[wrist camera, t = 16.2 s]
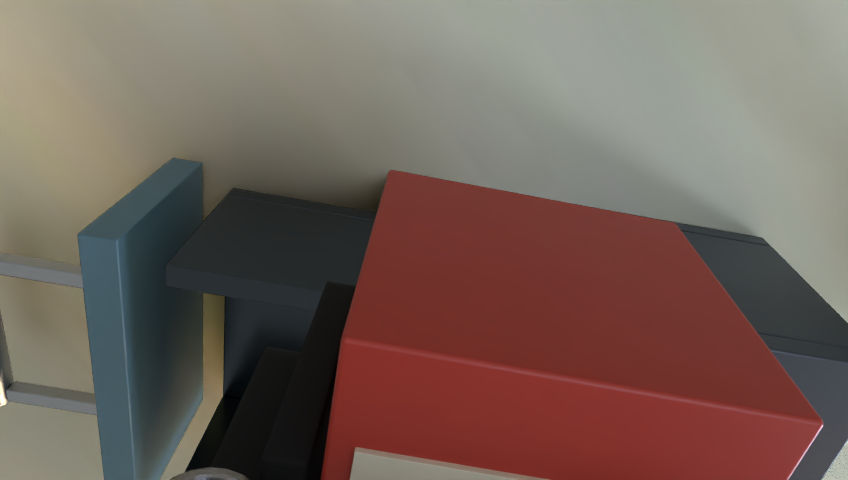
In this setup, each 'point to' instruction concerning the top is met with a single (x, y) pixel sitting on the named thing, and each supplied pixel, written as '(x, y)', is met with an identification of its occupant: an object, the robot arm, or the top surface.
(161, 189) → the drawer
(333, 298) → the robot arm
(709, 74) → the top surface
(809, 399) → the cabinet
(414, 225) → the package
